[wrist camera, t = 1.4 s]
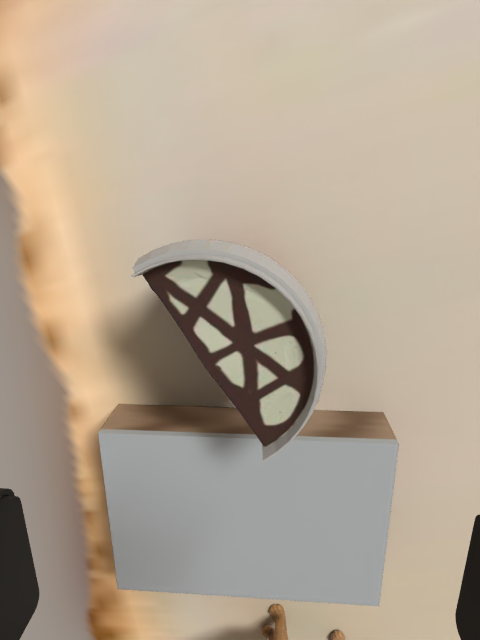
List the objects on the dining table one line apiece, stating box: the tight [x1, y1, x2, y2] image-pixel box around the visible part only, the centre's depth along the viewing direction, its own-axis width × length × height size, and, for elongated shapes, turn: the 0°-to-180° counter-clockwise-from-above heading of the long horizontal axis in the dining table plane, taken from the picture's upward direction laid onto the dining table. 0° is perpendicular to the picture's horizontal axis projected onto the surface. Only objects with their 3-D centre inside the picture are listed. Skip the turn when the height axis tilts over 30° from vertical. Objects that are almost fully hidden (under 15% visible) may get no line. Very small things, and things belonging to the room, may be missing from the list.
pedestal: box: [98, 404, 399, 606], centre depth 32 cm, size 20×14×4 cm
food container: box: [132, 240, 327, 461], centre depth 24 cm, size 12×6×10 cm, turn 33°
